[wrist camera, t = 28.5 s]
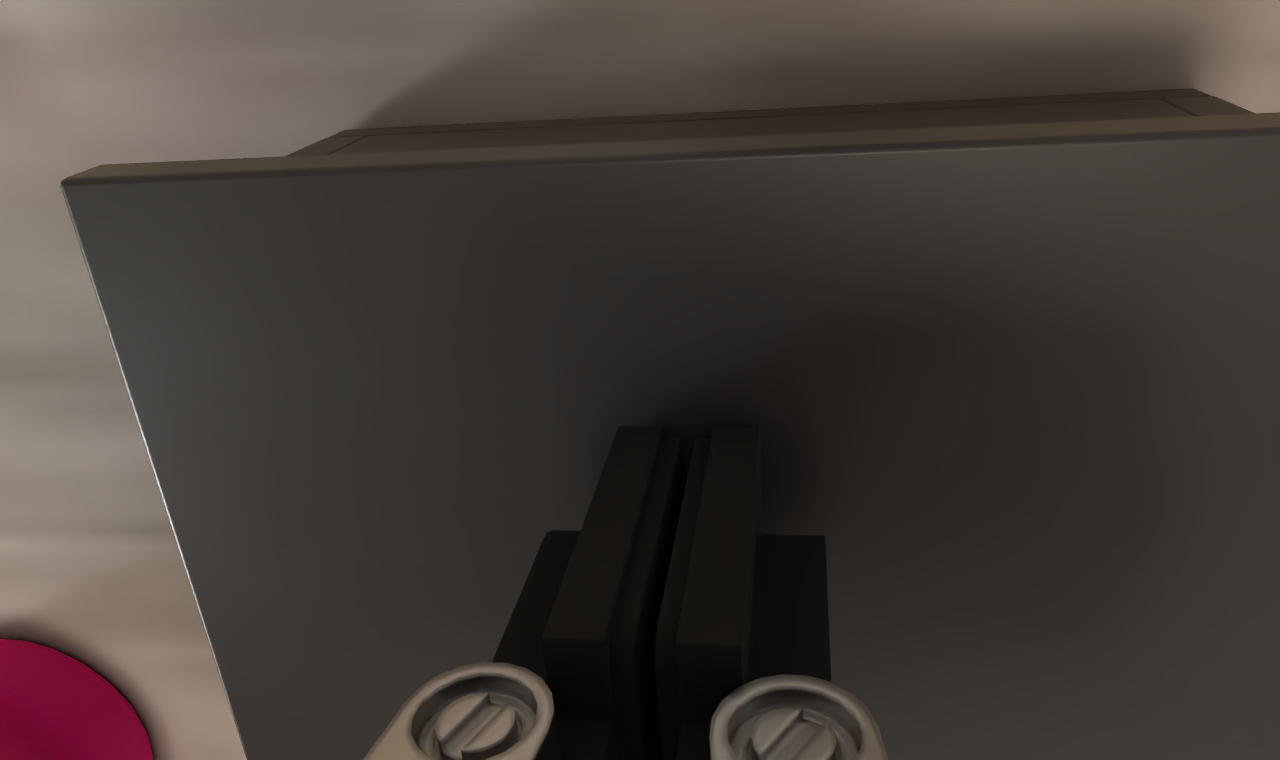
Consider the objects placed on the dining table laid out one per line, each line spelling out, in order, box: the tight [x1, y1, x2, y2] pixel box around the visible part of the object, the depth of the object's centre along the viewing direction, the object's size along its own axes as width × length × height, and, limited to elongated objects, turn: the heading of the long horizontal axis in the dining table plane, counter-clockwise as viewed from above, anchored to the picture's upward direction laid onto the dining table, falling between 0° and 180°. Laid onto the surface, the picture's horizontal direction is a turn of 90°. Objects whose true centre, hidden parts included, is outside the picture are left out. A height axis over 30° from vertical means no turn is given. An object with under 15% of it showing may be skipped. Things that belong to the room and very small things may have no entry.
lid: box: [61, 113, 1280, 760], centre depth 14 cm, size 16×15×1 cm
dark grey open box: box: [285, 89, 1255, 157], centre depth 17 cm, size 16×15×6 cm
